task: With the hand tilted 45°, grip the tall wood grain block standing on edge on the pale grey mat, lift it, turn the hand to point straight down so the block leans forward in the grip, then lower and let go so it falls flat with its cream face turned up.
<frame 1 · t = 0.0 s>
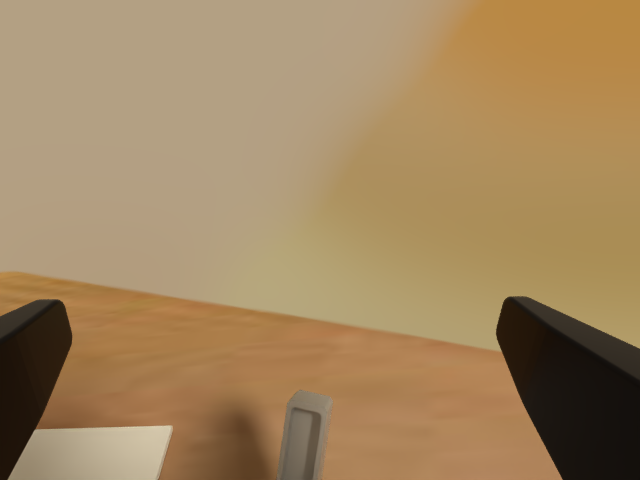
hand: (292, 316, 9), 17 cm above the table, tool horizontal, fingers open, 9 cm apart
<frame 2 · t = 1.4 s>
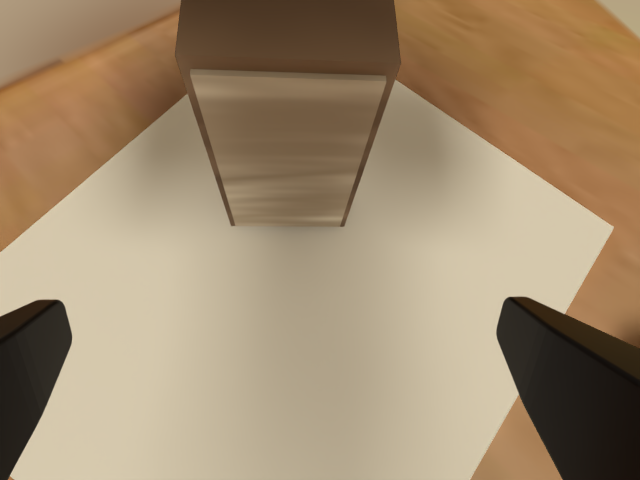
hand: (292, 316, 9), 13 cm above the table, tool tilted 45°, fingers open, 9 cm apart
wood grain block: (288, 205, 23), resting on mat
mat: (292, 282, 22), on the table
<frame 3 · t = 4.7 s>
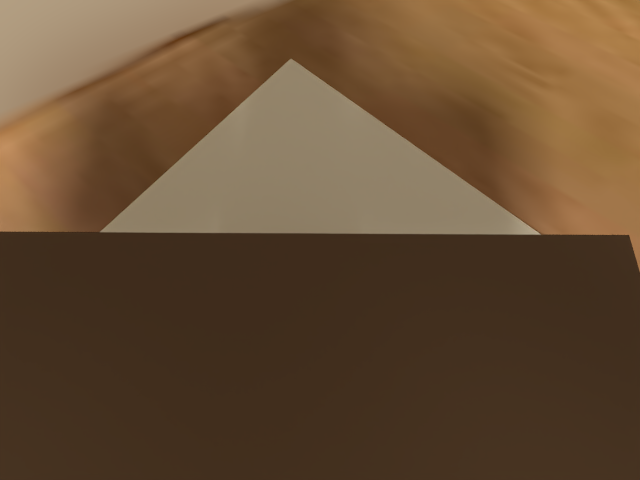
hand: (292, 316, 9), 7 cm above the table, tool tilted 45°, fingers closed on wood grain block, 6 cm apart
wood grain block: (289, 389, 14), resting on mat, touching gripper
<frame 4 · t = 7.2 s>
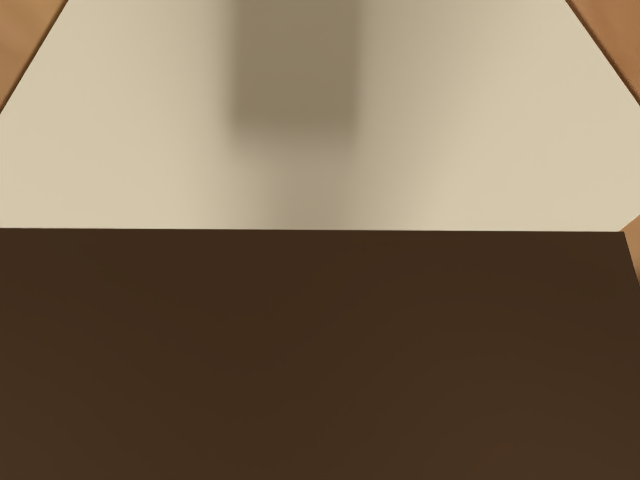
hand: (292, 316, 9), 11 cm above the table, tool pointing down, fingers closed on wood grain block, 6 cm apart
wood grain block: (289, 388, 15), point 7 cm above the table, tilted 45°, touching gripper
mat: (294, 228, 20), on the table
when the fingers open (7 cm above the table, at t = 9.1 s): wood grain block drops 2 cm and tips over, resting on mat.
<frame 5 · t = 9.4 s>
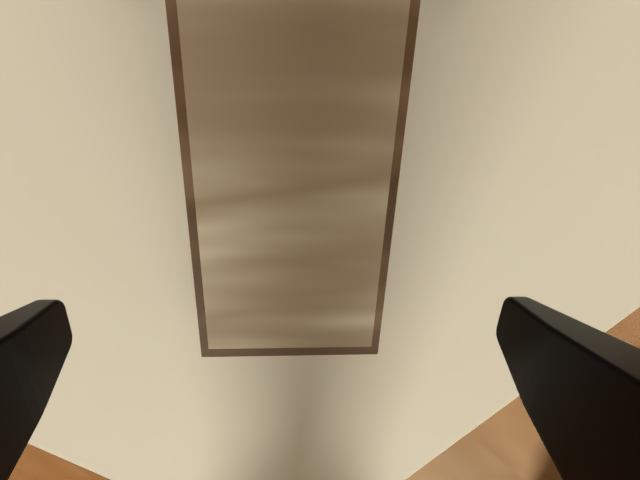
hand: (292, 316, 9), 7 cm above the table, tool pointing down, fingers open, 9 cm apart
wood grain block: (290, 333, 16), point 2 cm above the table, tilted 90°, touching mat
mat: (296, 269, 16), on the table
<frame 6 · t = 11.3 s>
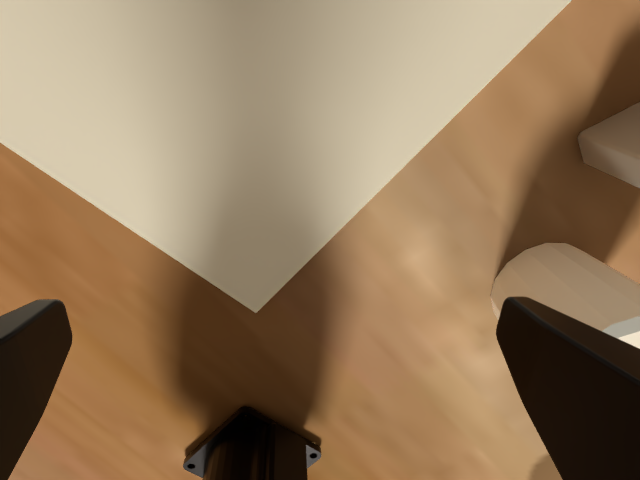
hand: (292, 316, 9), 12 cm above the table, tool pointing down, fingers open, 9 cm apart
white cylinder: (539, 285, 23), on the table
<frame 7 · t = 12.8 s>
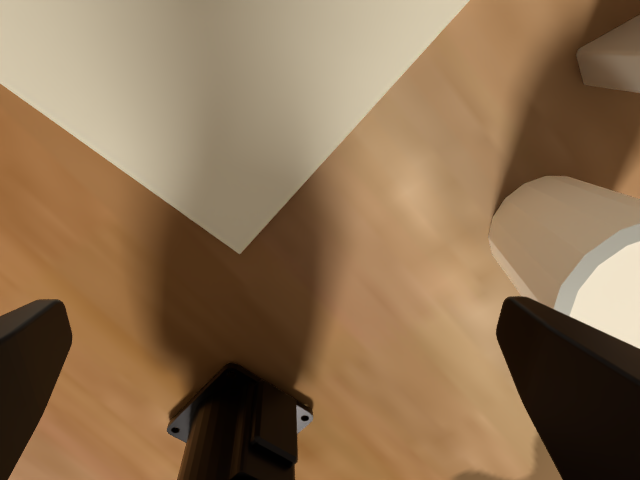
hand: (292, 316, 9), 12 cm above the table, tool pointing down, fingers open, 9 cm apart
white cylinder: (539, 226, 22), on the table
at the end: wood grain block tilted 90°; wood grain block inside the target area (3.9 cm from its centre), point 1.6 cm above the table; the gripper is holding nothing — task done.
